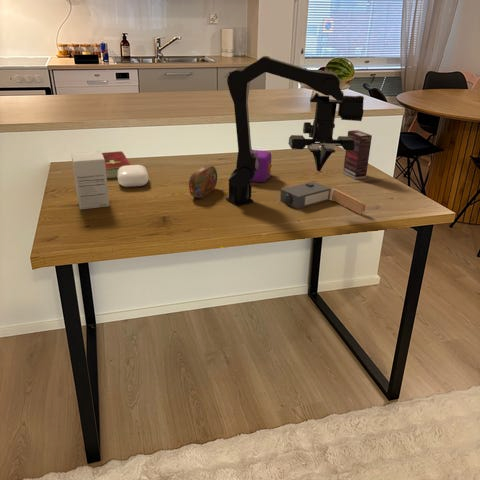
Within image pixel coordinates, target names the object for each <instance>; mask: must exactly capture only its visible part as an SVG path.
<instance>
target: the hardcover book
mask: <svg viewBox="0 0 480 480" xmlns="http://www.w3.org/2000/svg"><path fill="white" fill-rule="evenodd" d="M102 155H103V157H104V159H105V166H106V176H107V179H110V178H111V179H112V178H118V177H117V172H118V169H119V168H120V167H122V166H126V165H132V164H131V163H130V161H129V160H128V158H127V157H126V155H125V153H124V152H123V151H122V150H120V151H119V150H118V151H107V152H105V151H104V152H102Z"/></svg>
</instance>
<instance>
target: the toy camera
mask: <svg viewBox="0 0 480 480" xmlns="http://www.w3.org/2000/svg"><path fill="white" fill-rule="evenodd" d="M252 151H253V153H258V158H257V160H258V163H259V166H258V169H257V171H256V172H255V175H254V177H253V178H252V179H251V180H249V181H250V182H255V183H265V182H266V181H267V180H268V178H269V177H270V176H271V173H272V171H271V170H272V168H273V167H272V166H273V165H272V152H271V151H266V150H260V149H259V150H258V149H252Z"/></svg>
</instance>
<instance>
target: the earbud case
mask: <svg viewBox="0 0 480 480" xmlns="http://www.w3.org/2000/svg"><path fill="white" fill-rule="evenodd" d="M116 178H117V182H118V183H119V185H121V186H122V187H123V188H124V187H125V188H128V187H129V188H130V187H131V188H132V187H143V186H145V185H146V184H147V183H148V182H149V174H148V170H147V168H146V167H145V166H144V165H141V164H131V165H126V166H122V167H120V168H119V169H118V172H117V177H116Z"/></svg>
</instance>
